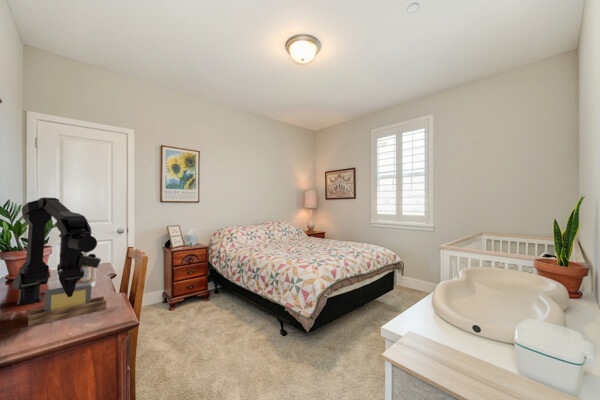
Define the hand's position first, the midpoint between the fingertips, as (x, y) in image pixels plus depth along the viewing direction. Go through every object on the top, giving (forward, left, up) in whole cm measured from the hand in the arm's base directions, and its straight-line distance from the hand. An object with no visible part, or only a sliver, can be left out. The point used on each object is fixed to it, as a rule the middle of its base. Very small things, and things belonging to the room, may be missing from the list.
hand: (68, 293), depth 89 cm
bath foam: (-34, +8, -8) cm, 36 cm away
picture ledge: (0, 0, -7) cm, 7 cm away
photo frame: (0, 0, -6) cm, 6 cm away
